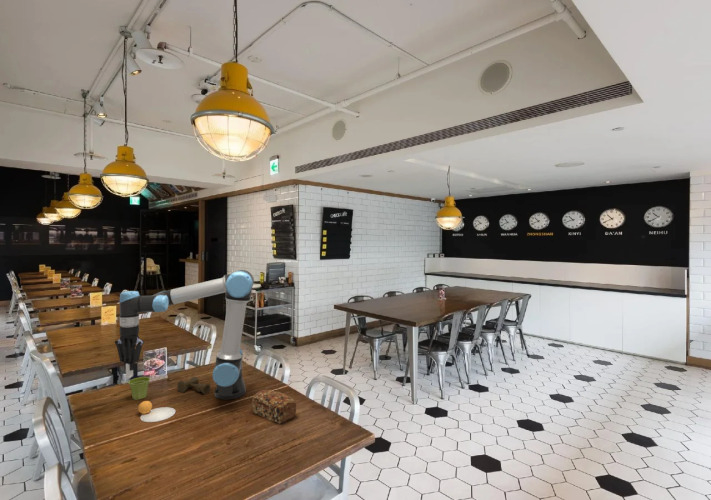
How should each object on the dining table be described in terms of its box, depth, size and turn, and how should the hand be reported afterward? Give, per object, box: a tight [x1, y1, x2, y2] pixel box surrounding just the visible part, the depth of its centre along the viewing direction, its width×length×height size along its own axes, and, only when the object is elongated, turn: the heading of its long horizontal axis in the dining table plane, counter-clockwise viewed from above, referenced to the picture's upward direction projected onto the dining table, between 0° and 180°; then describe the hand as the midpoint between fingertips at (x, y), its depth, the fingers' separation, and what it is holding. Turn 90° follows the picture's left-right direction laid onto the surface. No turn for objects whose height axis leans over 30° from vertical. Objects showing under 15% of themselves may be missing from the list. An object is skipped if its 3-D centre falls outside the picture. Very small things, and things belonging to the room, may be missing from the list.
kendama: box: [177, 376, 211, 395], centre depth 193 cm, size 6×10×20 cm
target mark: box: [139, 406, 176, 423], centre depth 165 cm, size 14×14×1 cm
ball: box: [137, 400, 153, 415], centre depth 166 cm, size 6×6×6 cm
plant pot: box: [128, 376, 151, 401], centre depth 183 cm, size 9×9×9 cm
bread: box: [251, 388, 297, 424], centre depth 166 cm, size 19×11×10 cm, turn 54°
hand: (129, 377), depth 166 cm, fingers closed
